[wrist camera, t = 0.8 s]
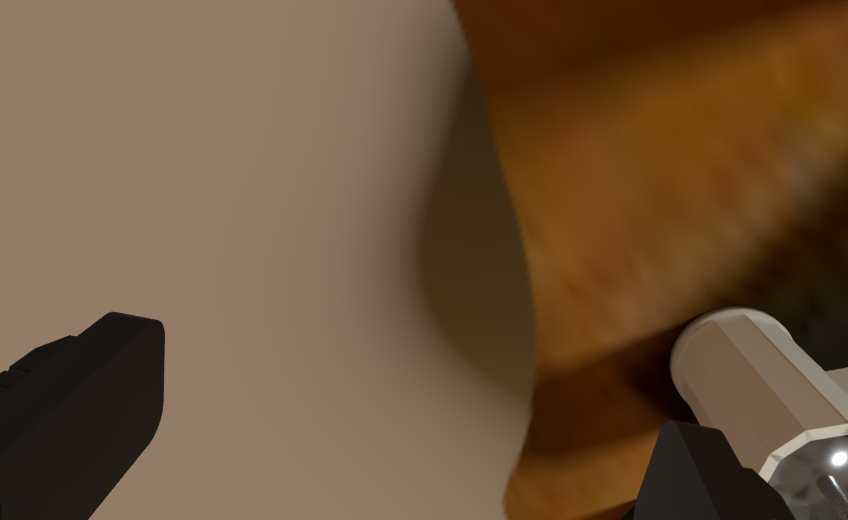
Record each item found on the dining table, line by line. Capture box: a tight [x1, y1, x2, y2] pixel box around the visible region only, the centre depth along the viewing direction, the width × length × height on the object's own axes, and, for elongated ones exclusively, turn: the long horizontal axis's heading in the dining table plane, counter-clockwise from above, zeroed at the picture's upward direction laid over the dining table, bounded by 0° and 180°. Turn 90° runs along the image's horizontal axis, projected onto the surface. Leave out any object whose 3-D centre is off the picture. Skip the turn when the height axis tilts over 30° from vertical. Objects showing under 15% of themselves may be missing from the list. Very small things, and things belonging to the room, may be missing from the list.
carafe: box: [669, 306, 848, 483], centre depth 37 cm, size 10×8×13 cm
